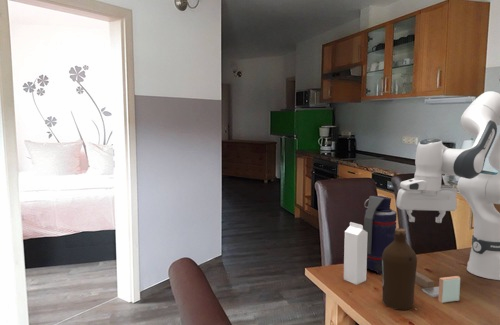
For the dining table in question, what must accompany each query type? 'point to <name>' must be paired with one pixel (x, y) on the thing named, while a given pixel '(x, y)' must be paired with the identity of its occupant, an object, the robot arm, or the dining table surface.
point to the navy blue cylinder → (378, 229)
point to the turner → (427, 285)
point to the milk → (355, 254)
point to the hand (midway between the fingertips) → (425, 222)
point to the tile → (449, 289)
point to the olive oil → (399, 273)
